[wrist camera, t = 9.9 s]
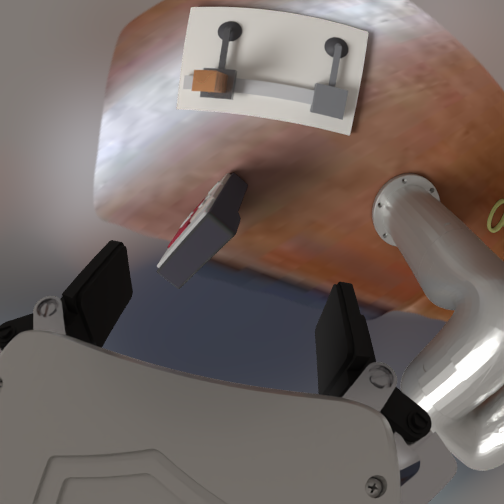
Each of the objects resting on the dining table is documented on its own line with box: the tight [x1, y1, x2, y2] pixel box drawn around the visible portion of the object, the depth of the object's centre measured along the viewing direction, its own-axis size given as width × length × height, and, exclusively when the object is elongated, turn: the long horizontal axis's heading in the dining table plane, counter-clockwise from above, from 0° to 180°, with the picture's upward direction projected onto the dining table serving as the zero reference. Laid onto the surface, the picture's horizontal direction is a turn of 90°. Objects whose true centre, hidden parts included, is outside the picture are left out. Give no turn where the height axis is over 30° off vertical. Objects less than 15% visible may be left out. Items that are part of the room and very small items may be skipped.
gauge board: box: [177, 7, 369, 136], centre depth 29 cm, size 24×16×4 cm, turn 82°
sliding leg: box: [192, 26, 237, 100], centre depth 26 cm, size 4×10×8 cm, turn 172°
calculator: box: [157, 173, 248, 289], centre depth 36 cm, size 11×4×15 cm, turn 138°
